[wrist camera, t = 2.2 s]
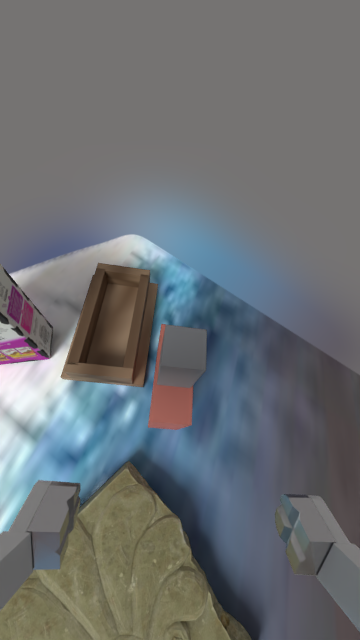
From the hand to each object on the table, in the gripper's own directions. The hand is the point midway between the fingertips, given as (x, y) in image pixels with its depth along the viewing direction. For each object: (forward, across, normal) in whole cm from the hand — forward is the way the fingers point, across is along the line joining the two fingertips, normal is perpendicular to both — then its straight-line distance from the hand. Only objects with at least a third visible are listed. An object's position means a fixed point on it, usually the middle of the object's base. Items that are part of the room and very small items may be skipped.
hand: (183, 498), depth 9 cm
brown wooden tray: (+25, +8, +2) cm, 26 cm away
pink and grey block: (+19, 0, +8) cm, 21 cm away
